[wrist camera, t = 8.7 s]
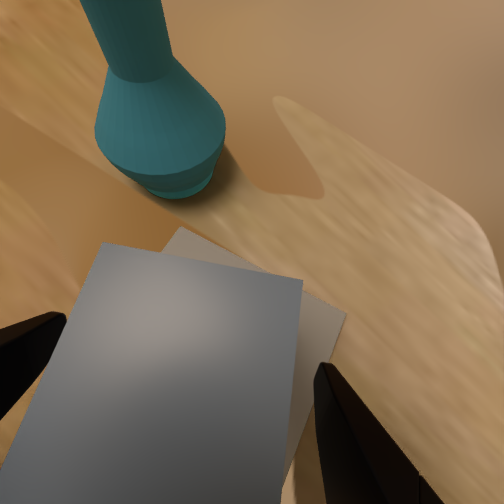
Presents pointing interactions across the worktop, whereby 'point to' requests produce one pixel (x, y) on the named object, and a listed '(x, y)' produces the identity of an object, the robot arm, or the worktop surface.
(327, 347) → the thin square base plate
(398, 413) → the worktop surface
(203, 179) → the teal vase
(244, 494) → the gray rectangular block
